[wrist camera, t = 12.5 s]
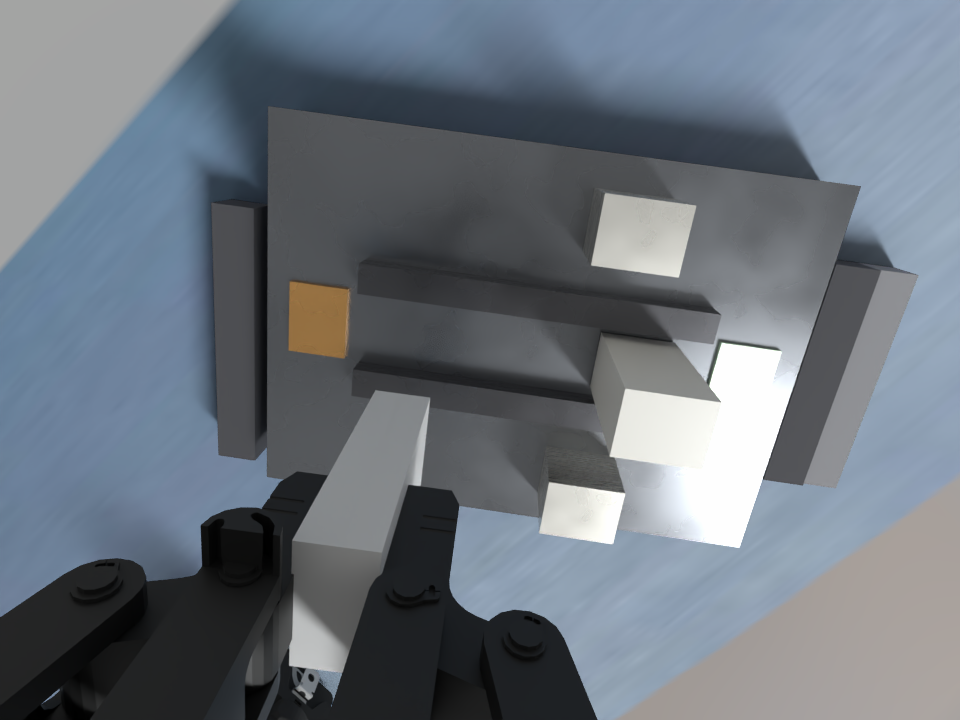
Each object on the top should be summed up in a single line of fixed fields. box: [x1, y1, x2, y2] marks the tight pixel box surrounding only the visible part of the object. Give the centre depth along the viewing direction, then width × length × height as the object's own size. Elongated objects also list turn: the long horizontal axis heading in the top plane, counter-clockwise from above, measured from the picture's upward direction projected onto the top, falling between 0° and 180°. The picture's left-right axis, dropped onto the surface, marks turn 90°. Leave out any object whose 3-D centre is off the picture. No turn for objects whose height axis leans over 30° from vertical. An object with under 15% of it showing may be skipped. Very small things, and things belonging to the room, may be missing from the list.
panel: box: [267, 106, 861, 548], centre depth 24 cm, size 22×16×6 cm
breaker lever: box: [590, 332, 722, 470], centre depth 21 cm, size 3×2×6 cm
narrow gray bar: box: [763, 260, 918, 488], centre depth 26 cm, size 3×10×2 cm, turn 173°
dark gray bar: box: [211, 199, 268, 460], centre depth 27 cm, size 2×12×2 cm, turn 173°
